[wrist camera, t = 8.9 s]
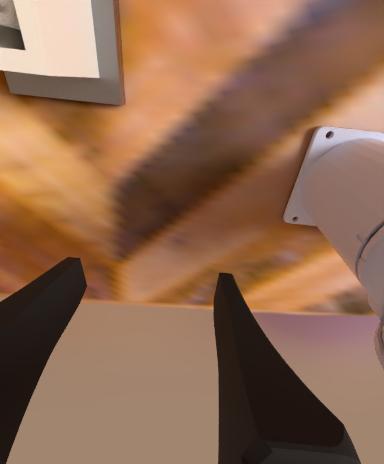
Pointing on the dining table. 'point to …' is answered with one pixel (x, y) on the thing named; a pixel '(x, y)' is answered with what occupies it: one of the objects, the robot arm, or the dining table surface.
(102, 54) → the shaft block
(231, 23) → the dining table surface
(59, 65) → the square tube cup
